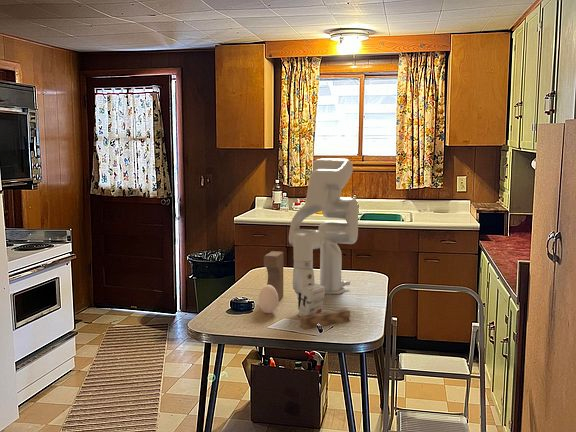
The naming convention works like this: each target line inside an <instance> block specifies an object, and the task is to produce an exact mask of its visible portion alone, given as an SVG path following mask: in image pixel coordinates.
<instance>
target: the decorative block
mask: <svg viewBox="0 0 576 432" xmlns="http://www.w3.org/2000/svg"><path fill="white" fill-rule="evenodd" d="M263 267H264V268H266V271H267V283H266V285H271V286H273V287H274V288H275V289H276V291H277V294H278V298H279V301H280V300H281V299H282V298H283V297H284V252H283V251H275V250H271V251H270V252H268V253H266V254H265V255H264V256H263Z"/></svg>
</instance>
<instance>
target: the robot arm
mask: <svg viewBox="0 0 576 432" xmlns="http://www.w3.org/2000/svg"><path fill="white" fill-rule="evenodd" d="M353 171H354V166H353V163H352V161H351V160H350V159H347V158H317V159H315V160H314V161H313V162H312V172H311V173H310V174H309V180H308V186H307V191H306V197H305V198H306V199H305V202H304V205H303V206H301V207H300V208H299V209H298V211H296V213H295V214H294V215H293V217H292V219H291V223H290V227H289V232H288V242H289V246H291V247H293V266H292V267H293V270H292V271H293V273H292V290H294V293H295V294H296V295H297V301H298V302H297V303H298V306H297V307H298V308H297V309H298V311H299V308H300V302H301V296H302V291H303V287H305V286H309V285H315V283H316V282H315V274H314V273H315V272H314V266H313V265H314V264H313V263H314V259H313V257H314V253H313V251H314V250H318V249H319V251H320V254H319V257H320V258H319V260H320V261H319V262H320V263H319V265H320V266H319V285H322V286H324V287H325V292H324V295H340V294H343V293H344V292H345V290H346V289H345V286H350V285H351V281H350V280H347V281H346V280H342V263H343V262H342V260H343V258H342V255H343V254H342V250H341V248H340V246H339V245H338V244H343V245H344V244H345V245H346V244H347V245H354V244H355V243H356V242H357V240H358V237H359V205H358V202H357V200H356V199H355V198H353V197H346V196H345V197H343V196H342V190H343V189H344V188H345V186H346V185H347V184H348V182H349V180H350V179H351V177H352V175H353ZM320 212H322V215H323V217H324V218H327V219H336V220H337V219H338V220H345V221H336V220H329V221H322V222H321V223H320V224H319V225H318V228H317V229H308V228H307V229H306V228H300V226H301V225H302V222H303V221H304V220H305V219H306V218H308V217H310V216H312V215H315V214H317V213H320Z"/></svg>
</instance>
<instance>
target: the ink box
mask: <svg viewBox="0 0 576 432" xmlns="http://www.w3.org/2000/svg"><path fill="white" fill-rule="evenodd" d="M324 292H325V287H324V286H322V285H320V283H319V284H318V283H316V282H315V285H309V286H305V287H303V291H302V296H301V302H300V308H299V310H298V315H299V316H305V315H311V314H317V313H322V309H323V302H324V297H325V294H324Z"/></svg>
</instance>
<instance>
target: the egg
mask: <svg viewBox="0 0 576 432" xmlns="http://www.w3.org/2000/svg"><path fill="white" fill-rule="evenodd" d="M279 301H280V300H279V298H278V294H277V291H276V289H275V288H274V287H273V286H271V285H267V284H266V285H264V286H263V287H262V288H261V290H260V291H259V294H258V301H257V302H258V306H259V309H260V310H261V311H262V312H263V313H265V314H273V312H275V311H276V310H277V308H278V305H279Z"/></svg>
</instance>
